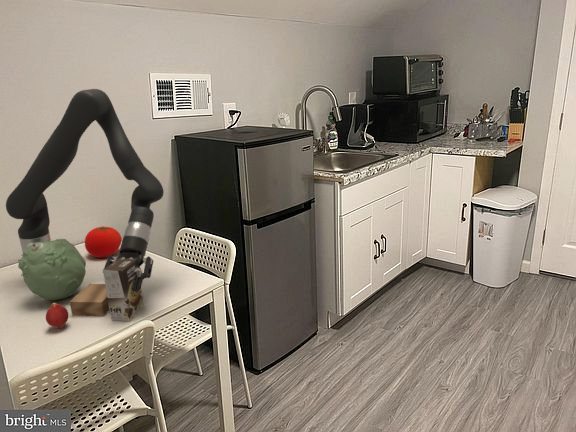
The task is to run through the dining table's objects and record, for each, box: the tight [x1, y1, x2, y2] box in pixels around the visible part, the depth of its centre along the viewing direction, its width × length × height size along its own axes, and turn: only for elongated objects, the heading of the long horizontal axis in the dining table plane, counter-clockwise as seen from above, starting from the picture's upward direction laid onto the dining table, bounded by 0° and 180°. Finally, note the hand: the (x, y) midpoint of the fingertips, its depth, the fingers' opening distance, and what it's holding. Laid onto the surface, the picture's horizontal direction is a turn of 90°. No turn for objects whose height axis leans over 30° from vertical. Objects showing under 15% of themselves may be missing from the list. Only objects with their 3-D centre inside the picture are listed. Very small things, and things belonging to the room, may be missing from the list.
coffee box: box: [102, 258, 146, 322], centre depth 137 cm, size 9×6×16 cm
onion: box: [45, 302, 69, 329], centre depth 132 cm, size 6×6×8 cm
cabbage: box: [17, 238, 87, 301], centre depth 149 cm, size 16×19×20 cm
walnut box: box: [69, 283, 110, 317], centre depth 144 cm, size 10×12×5 cm
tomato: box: [84, 225, 123, 259], centre depth 184 cm, size 13×14×12 cm
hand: (122, 290), depth 136 cm, fingers open, 8 cm apart
